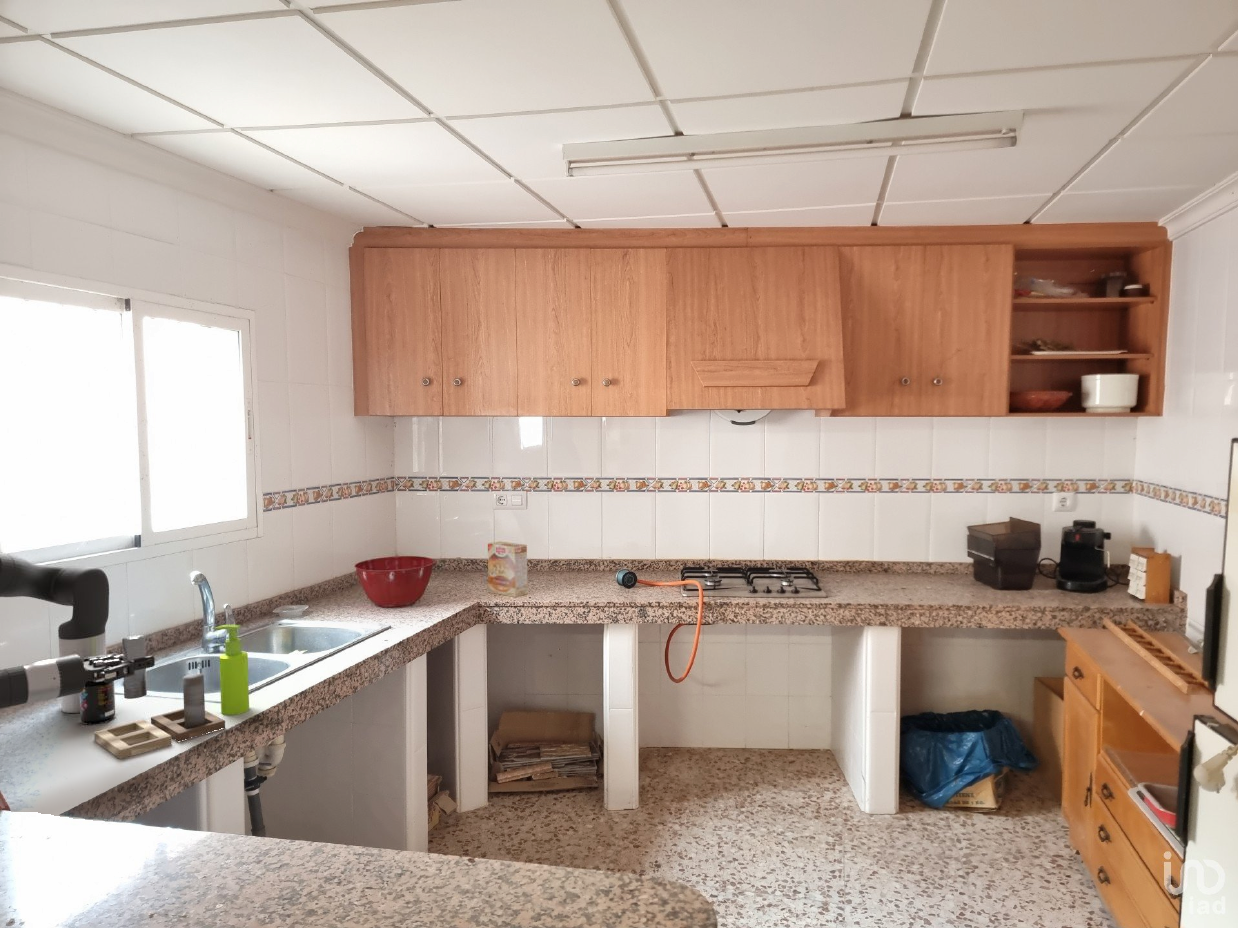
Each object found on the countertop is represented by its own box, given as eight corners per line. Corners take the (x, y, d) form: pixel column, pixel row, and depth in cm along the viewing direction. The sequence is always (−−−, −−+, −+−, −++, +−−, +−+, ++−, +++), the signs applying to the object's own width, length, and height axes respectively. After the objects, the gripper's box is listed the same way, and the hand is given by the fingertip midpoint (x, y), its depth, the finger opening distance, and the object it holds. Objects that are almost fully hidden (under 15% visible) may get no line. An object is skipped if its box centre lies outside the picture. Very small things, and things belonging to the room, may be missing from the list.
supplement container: (95, 713, 186) (93, 669, 185) (122, 714, 185) (121, 669, 185) (72, 724, 179) (70, 678, 178) (101, 725, 178) (99, 679, 178)
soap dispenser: (225, 705, 190) (222, 622, 189) (253, 706, 190) (251, 622, 189) (211, 714, 185) (208, 628, 183) (241, 715, 184) (238, 628, 183)
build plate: (94, 740, 170) (94, 731, 170) (143, 727, 177) (143, 718, 177) (120, 758, 160) (120, 750, 160) (171, 744, 168) (171, 735, 168)
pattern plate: (151, 725, 178) (149, 671, 178) (195, 713, 186) (194, 661, 185) (179, 741, 169) (177, 685, 168) (225, 728, 176) (223, 674, 176)
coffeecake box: (487, 592, 316) (486, 543, 315) (500, 589, 321) (500, 540, 320) (515, 597, 307) (514, 546, 306) (528, 594, 312) (527, 544, 311)
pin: (121, 695, 165) (119, 638, 165) (142, 690, 168) (140, 634, 168) (128, 700, 163) (126, 641, 162) (150, 694, 166) (148, 637, 165)
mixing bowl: (400, 615, 278) (399, 571, 277) (338, 608, 290) (337, 565, 290) (450, 599, 304) (450, 558, 303) (391, 593, 316) (390, 553, 315)
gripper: (62, 666, 150) (162, 646, 163) (40, 652, 159) (136, 635, 172) (64, 706, 150) (163, 683, 163) (41, 690, 159) (137, 669, 172)
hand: (149, 658), depth 167 cm, fingers closed on pin, 4 cm apart
